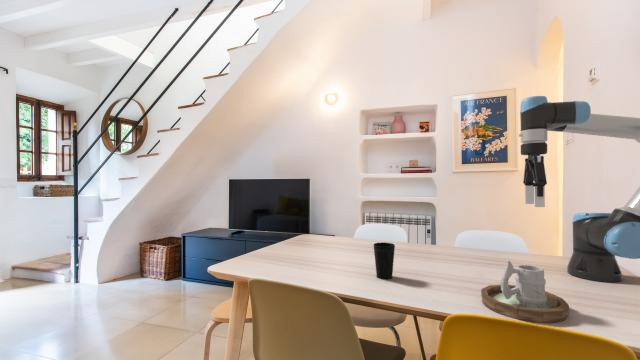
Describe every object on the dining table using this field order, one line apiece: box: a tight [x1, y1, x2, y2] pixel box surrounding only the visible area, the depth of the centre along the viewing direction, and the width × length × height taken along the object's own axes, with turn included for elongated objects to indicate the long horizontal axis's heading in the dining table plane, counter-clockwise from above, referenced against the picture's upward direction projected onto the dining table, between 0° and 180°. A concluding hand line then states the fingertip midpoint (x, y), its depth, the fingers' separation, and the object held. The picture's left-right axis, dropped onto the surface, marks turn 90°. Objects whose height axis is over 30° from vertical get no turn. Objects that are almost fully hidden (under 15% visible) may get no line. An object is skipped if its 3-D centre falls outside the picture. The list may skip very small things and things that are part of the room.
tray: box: [480, 284, 570, 324], centre depth 88 cm, size 20×20×3 cm
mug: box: [499, 259, 547, 308], centre depth 88 cm, size 8×12×12 cm, turn 89°
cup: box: [373, 242, 396, 280], centre depth 116 cm, size 8×8×12 cm
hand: (534, 205), depth 108 cm, fingers open, 13 cm apart
